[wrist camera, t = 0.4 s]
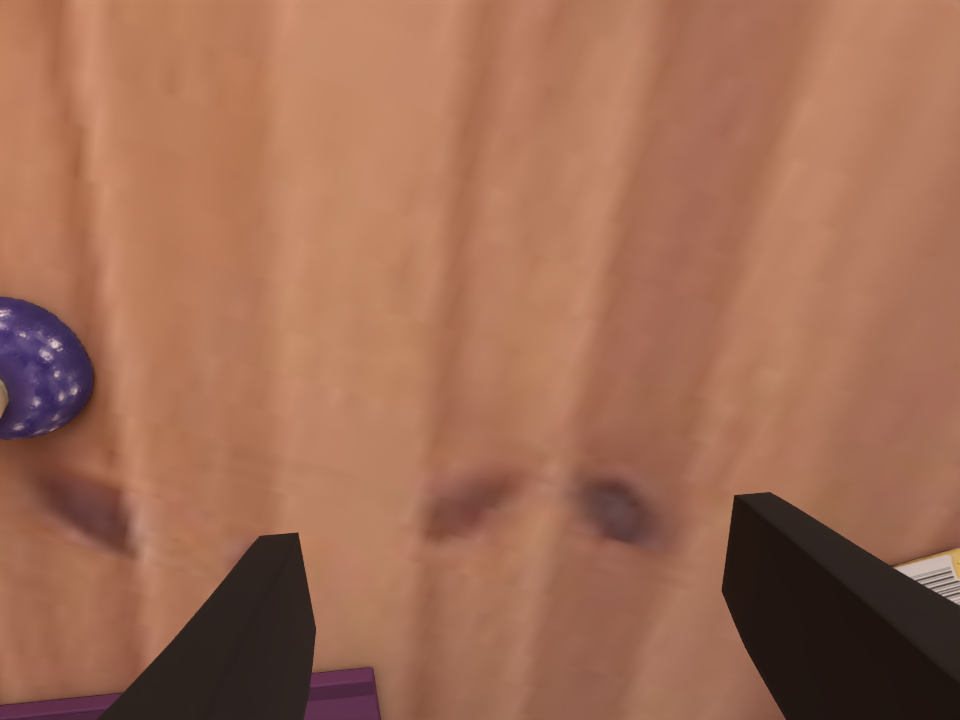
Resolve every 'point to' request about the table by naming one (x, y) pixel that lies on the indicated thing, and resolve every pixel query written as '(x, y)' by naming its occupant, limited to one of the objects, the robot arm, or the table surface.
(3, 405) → the toy lamp
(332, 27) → the table surface
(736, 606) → the robot arm
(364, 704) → the purple flat bar
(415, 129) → the table surface
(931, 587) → the candy box
